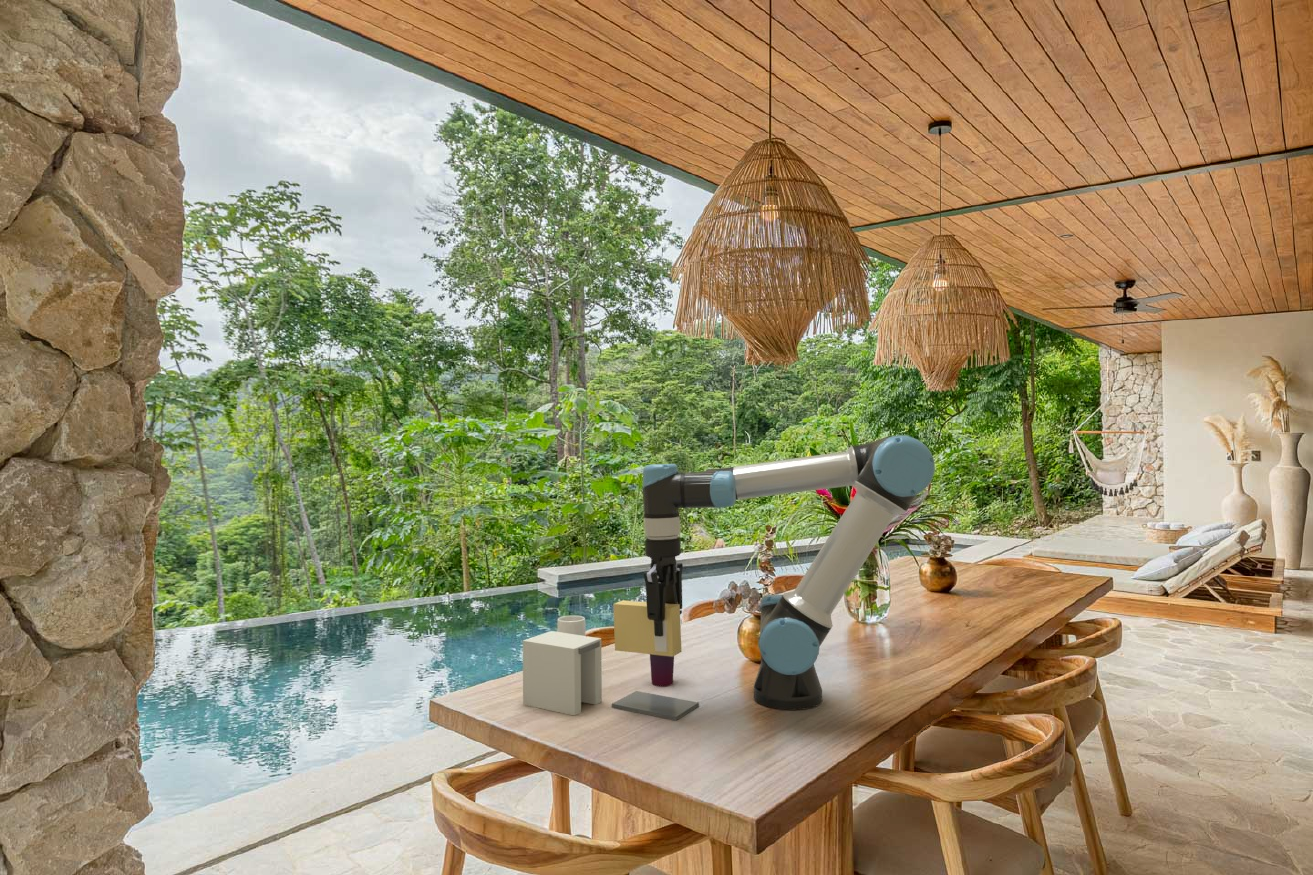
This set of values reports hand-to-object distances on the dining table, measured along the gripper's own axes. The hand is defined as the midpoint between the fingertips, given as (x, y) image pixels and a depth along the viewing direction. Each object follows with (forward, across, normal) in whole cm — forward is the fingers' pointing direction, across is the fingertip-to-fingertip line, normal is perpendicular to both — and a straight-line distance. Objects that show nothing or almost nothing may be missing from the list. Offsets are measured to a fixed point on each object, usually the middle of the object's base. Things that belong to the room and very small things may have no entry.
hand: (666, 647), depth 164 cm
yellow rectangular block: (+1, 0, -5) cm, 5 cm away
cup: (+14, -18, -11) cm, 26 cm away
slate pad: (+14, -3, -5) cm, 15 cm away
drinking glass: (+13, -10, -32) cm, 36 cm away
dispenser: (+13, +4, -24) cm, 28 cm away
